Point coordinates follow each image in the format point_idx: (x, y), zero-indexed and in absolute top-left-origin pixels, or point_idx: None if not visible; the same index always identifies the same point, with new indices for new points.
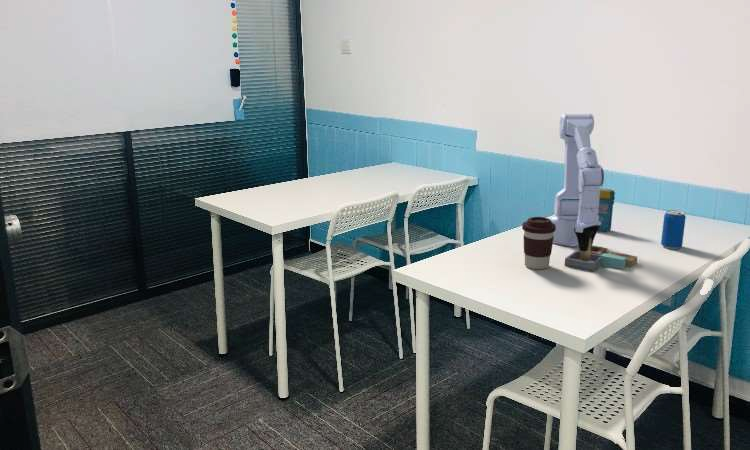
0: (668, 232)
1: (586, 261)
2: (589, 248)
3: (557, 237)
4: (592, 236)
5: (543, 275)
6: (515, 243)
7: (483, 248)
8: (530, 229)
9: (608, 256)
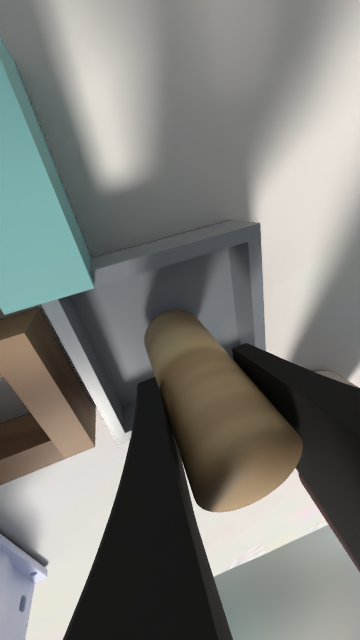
0: None
1: (140, 336)
2: (214, 356)
3: (8, 600)
4: (179, 491)
5: None
6: None
7: (253, 541)
8: None
9: (44, 226)
